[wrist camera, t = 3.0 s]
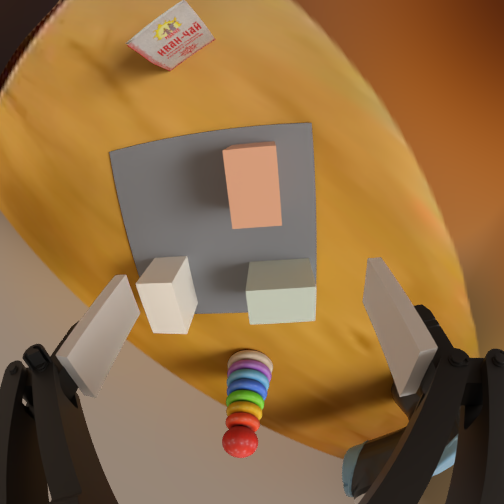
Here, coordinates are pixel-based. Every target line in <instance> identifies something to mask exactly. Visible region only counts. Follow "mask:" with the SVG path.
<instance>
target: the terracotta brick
mask: <svg viewBox="0 0 504 504" xmlns="http://www.w3.org/2000/svg"><path fill="white" fill-rule="evenodd" d="M222 151H223V159H224V167H225V175H226V183H227V191H228V199H229V206H230V214H231V222H232V229H241V228H255V227H269V226H282V217H281V203H280V189H279V176H278V163H277V152H276V144H275V141H271V142H258V143H247V144H237V145H231V146H229V147H228V148H226V149H224V150H222Z"/></svg>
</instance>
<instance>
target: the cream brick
mask: <svg viewBox="0 0 504 504" xmlns="http://www.w3.org/2000/svg"><path fill="white" fill-rule="evenodd" d="M136 287H137V290H138V293H139V296H140V299H141V301H142V304H143V307H144V310H145V313H146V315H147V318H148V321H149V323H150V326H151V328H152V331H153V333H168V334H187V333H188V330H189V327H190V324H191V321H192V318H193V316H194V313H195V310H196V307H197V305H198V301H197V297H196V293H195V289H194V285H193V280H192V276H191V272H190V267H189V263H188V258H187V256H177V257H162V258H154V259H153V261H152V262H151V263H150V265H149V266H148V267H147V269H146V270H145V272H144V273H143V274H142V276H141V277H140V278H139V280H138V281H137V282H136Z"/></svg>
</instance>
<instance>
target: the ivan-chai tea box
mask: <svg viewBox="0 0 504 504" xmlns="http://www.w3.org/2000/svg"><path fill="white" fill-rule="evenodd" d="M214 40H215V38H214V37H213V35H212V34H211V32H210V31H209V30H208V28H207V27H206V25H205V24H204V23H203V21H202V20H201V19H200V18H199V17H198V15H197V14H196V13H195V12H194V10H193V9H192V8H191V7H190V6H189V4H188V3H187V2H185V0H182V1H181V2H179V3H178V4H176V5H175V6H173V7H172V8H170V9H169V10H167V11H166V12H165V13H163V14H162V15H160V16H159V17H158V18H156V19H155V20H154V21H152V22H151V23H150V24H149V25H147V26H146V27H145V28H143V29H142V30H141V31H140V32H139V33H137V34H136V35H135V36H134V37H133V38H131V39H130V40H129V41H128V42H127V43H126V44H128V45H127V46H128V47H130V48H132V49H133V50H135V51H136V52H138V53H139V54H140V55H142V56H143V57H144V58H146V59H147V60H148V61H150V62H151V63H153V64H155V65H157V66H160V67H162V68H164V69H166V70H169V71H171V70H172V69H174V68H175V67H176V66H178V65H179V64H180V63H182V62H183V61H184V60H186V59H187V58H189V57H190V56H191V55H193V54H194V53H196V52H197V51H199V50H200V49H202V48H203V47H204V46H206V45H208V44H209V43H211V42H212V41H214Z"/></svg>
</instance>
